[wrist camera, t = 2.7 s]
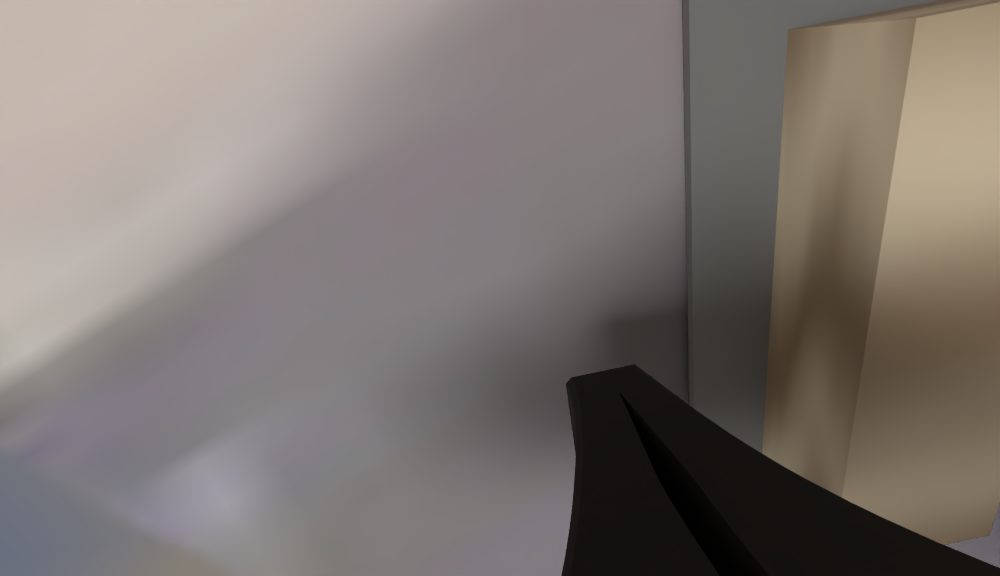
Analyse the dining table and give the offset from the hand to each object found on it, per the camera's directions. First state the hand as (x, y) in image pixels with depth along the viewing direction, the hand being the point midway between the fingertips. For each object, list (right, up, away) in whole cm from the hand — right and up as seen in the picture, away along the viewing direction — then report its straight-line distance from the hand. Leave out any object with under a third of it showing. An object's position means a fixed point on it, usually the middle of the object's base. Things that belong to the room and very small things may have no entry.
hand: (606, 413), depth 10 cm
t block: (+11, +3, +3) cm, 11 cm away
